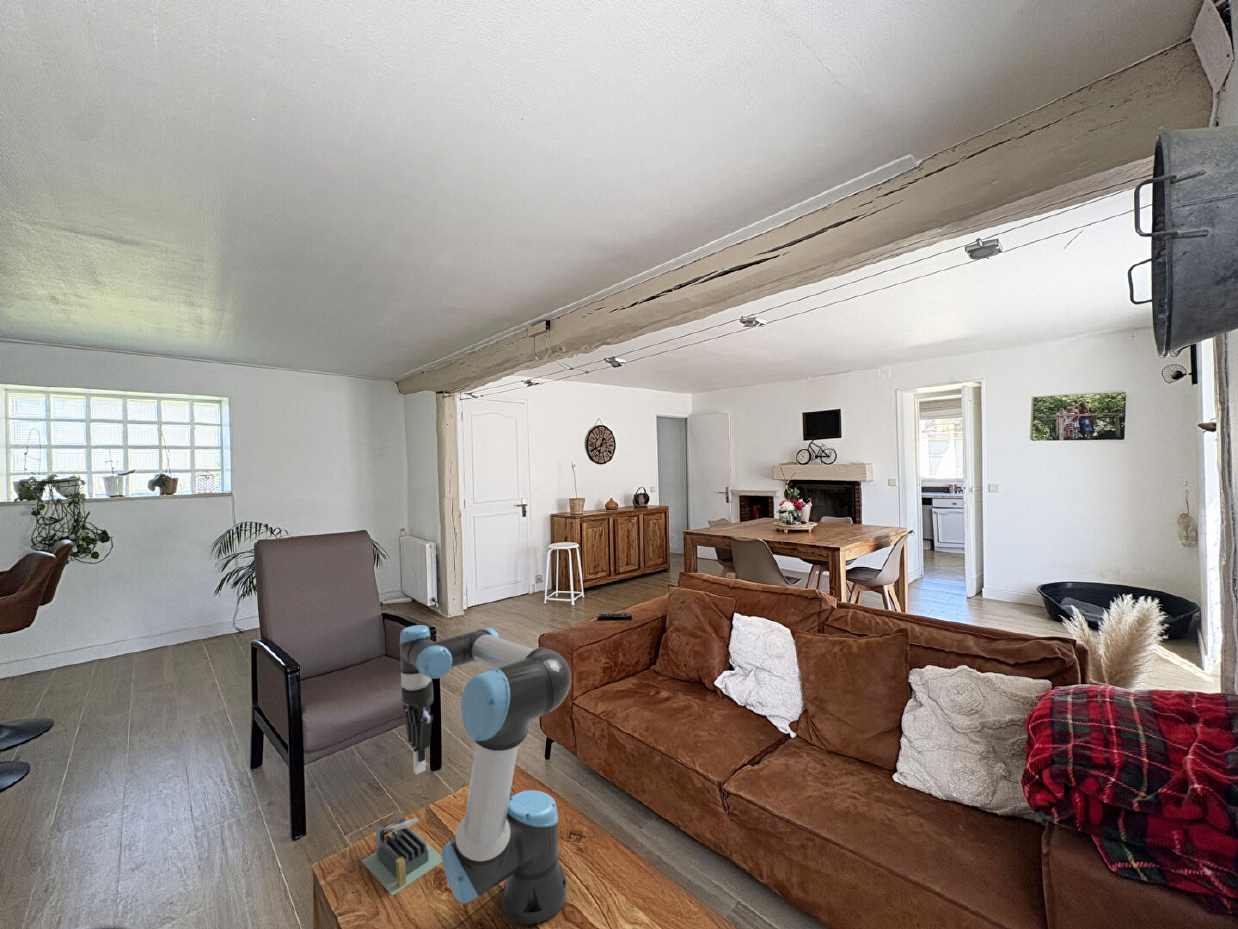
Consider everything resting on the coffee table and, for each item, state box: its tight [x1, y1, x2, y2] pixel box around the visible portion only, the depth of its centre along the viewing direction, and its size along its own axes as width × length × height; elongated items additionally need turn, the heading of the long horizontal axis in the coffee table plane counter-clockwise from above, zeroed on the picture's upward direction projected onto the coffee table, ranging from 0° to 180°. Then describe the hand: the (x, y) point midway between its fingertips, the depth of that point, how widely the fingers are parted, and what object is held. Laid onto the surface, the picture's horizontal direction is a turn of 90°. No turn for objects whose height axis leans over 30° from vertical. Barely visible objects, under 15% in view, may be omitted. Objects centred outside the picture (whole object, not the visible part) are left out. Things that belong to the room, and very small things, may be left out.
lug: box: [396, 857, 406, 888], centre depth 125 cm, size 2×2×6 cm
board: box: [361, 829, 443, 896], centre depth 133 cm, size 17×14×1 cm
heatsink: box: [378, 827, 429, 878], centre depth 133 cm, size 11×8×5 cm
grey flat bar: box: [384, 817, 419, 836], centre depth 133 cm, size 15×4×1 cm, turn 49°
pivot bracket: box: [375, 813, 406, 855], centre depth 137 cm, size 2×7×7 cm, turn 139°
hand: (419, 771), depth 139 cm, fingers closed
